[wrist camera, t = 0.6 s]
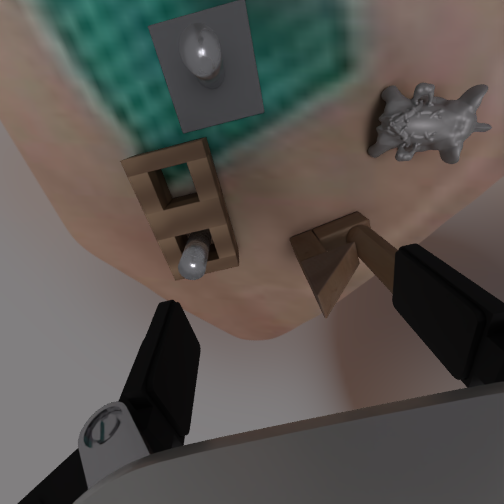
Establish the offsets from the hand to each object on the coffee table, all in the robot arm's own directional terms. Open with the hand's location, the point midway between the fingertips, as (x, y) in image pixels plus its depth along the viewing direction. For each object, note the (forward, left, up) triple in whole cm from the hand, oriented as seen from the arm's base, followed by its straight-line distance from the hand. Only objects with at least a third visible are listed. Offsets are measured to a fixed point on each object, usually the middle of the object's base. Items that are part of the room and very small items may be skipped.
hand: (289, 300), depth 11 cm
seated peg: (+6, -9, -25) cm, 27 cm away
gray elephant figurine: (-2, +21, -26) cm, 33 cm away
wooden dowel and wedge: (+11, +9, -26) cm, 29 cm away
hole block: (+2, -9, -25) cm, 27 cm away
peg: (-12, -2, -25) cm, 28 cm away
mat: (-12, -2, -25) cm, 28 cm away
